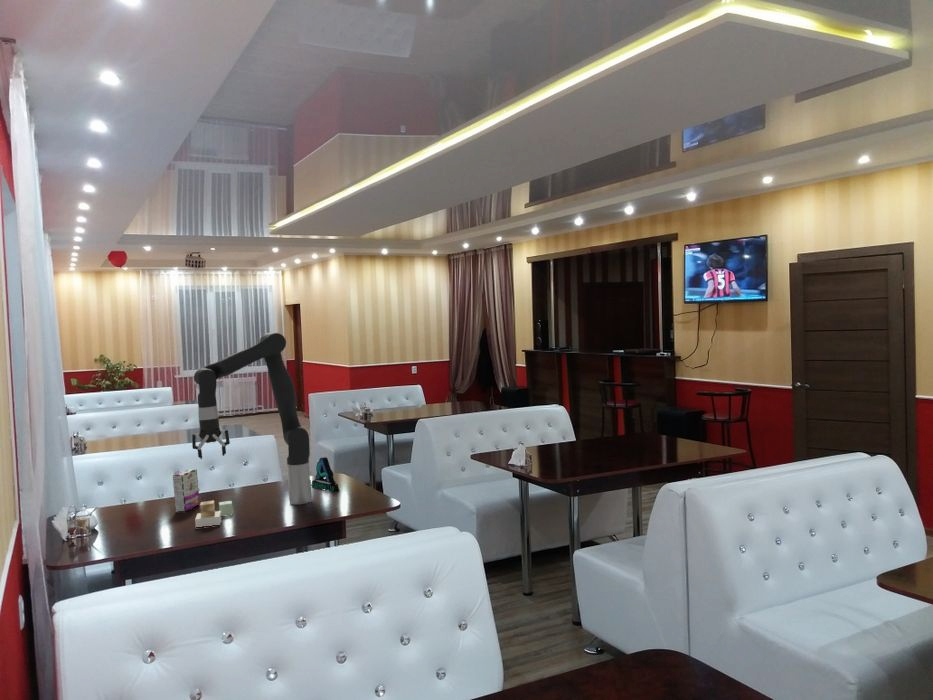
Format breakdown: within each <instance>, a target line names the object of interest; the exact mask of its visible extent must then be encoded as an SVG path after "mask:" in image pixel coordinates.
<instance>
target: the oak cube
mask: <svg viewBox="0 0 933 700" xmlns="http://www.w3.org/2000/svg"><path fill="white" fill-rule="evenodd" d="M215 505H216V504H215V500H208V501H206V500H205V501H200V505H199V507H200V513H201V518H203V517H210V516H215V511H216V509H215V507H216V506H215Z"/></svg>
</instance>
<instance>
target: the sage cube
mask: <svg viewBox="0 0 933 700" xmlns="http://www.w3.org/2000/svg"><path fill="white" fill-rule="evenodd" d="M218 511H221V516H223V517H225V516H224V515H230V516H232V515H231V514H233V515H234V510H233V502H232V500H226V501H219V502H218Z"/></svg>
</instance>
